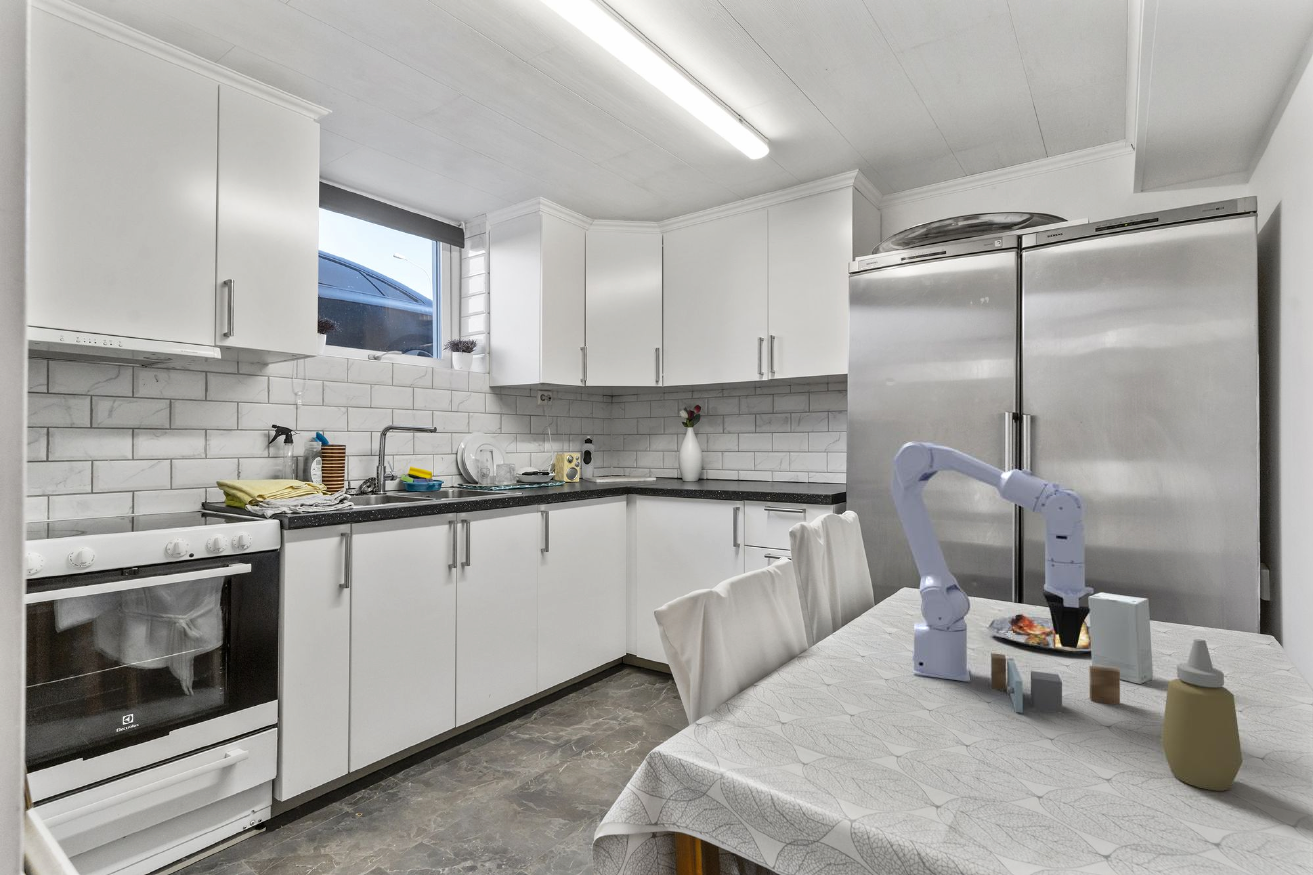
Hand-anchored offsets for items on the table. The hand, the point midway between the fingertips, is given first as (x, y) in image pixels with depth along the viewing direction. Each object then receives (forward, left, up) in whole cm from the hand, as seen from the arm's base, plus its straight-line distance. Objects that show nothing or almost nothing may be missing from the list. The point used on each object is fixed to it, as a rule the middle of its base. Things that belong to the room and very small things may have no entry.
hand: (1065, 640), depth 111 cm
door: (-8, -4, -10) cm, 13 cm away
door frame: (-3, +2, -10) cm, 10 cm away
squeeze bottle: (+11, -24, -10) cm, 29 cm away
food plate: (+2, +39, -11) cm, 40 cm away
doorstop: (-3, -5, -10) cm, 12 cm away
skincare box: (+11, +18, -10) cm, 23 cm away
